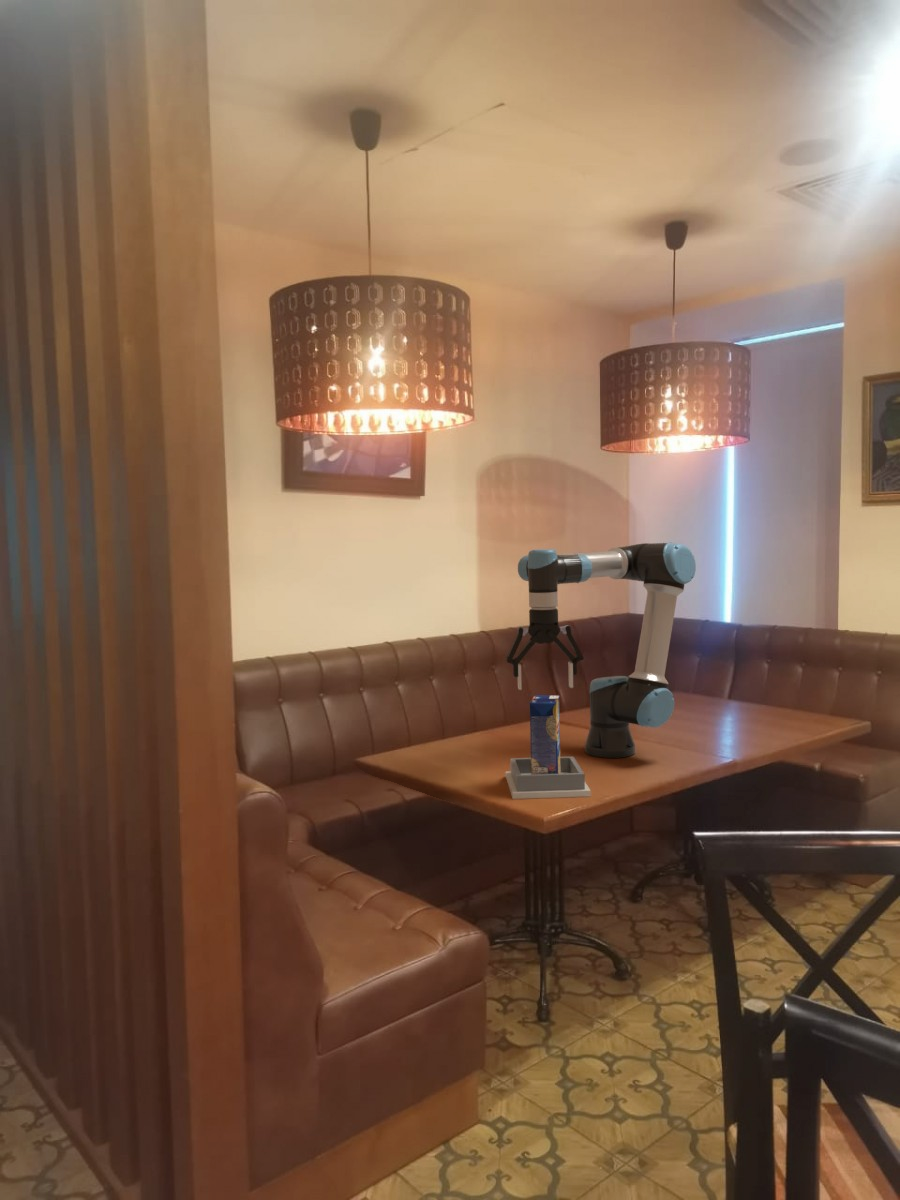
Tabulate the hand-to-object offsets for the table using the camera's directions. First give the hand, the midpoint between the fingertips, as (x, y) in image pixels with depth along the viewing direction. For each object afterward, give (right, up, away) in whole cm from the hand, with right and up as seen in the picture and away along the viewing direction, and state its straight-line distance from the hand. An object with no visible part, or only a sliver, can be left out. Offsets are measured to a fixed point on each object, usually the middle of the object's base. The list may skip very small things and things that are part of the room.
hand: (545, 688), depth 225 cm
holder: (0, -26, +2) cm, 26 cm away
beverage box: (0, -25, +2) cm, 25 cm away
